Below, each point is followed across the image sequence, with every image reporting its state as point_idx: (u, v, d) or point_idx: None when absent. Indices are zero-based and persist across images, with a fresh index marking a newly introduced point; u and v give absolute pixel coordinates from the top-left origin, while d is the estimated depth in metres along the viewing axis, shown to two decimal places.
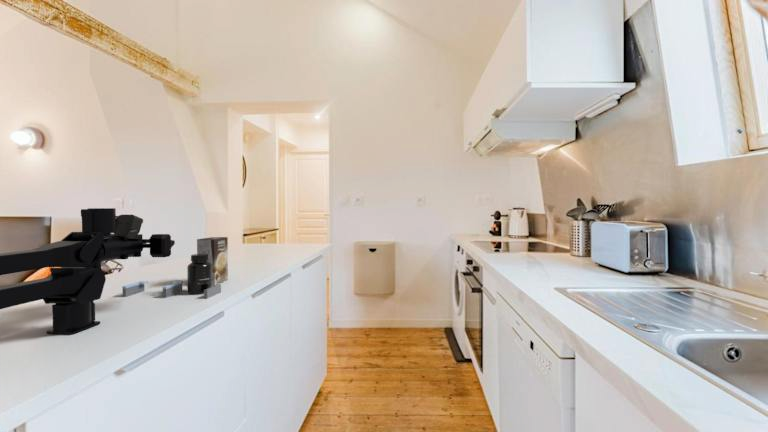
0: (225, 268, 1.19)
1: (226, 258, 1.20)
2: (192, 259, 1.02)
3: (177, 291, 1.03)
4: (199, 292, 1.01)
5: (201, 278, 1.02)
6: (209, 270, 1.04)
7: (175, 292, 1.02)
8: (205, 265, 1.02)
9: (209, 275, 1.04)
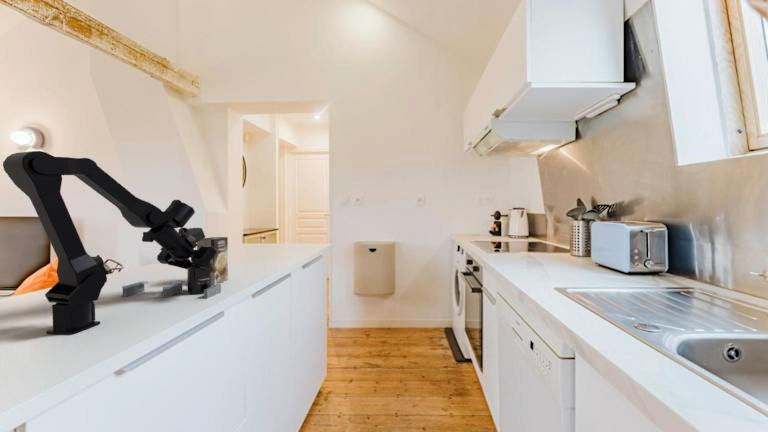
0: (225, 268, 1.19)
1: (226, 258, 1.20)
2: None
3: (177, 291, 1.03)
4: (199, 292, 1.01)
5: (201, 278, 1.02)
6: None
7: (175, 292, 1.02)
8: None
9: (209, 275, 1.04)
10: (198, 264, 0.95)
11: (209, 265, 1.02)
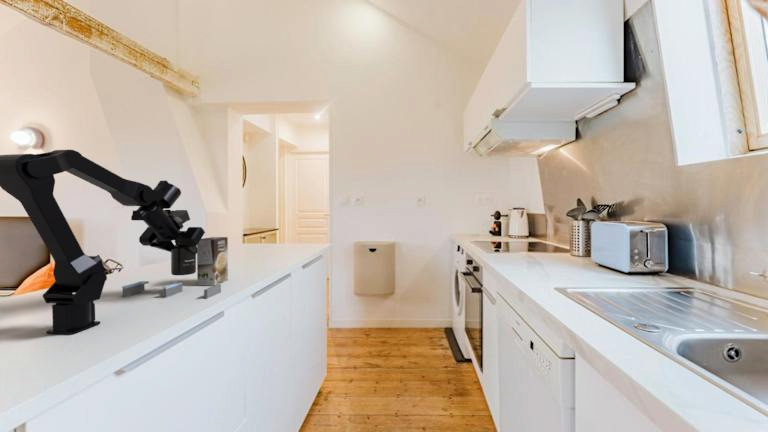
0: (225, 268, 1.19)
1: (226, 258, 1.20)
2: (177, 241, 1.03)
3: (177, 291, 1.03)
4: (184, 273, 1.02)
5: (187, 259, 1.03)
6: None
7: (175, 292, 1.02)
8: None
9: (194, 257, 1.05)
10: (187, 244, 0.97)
11: (195, 246, 1.04)
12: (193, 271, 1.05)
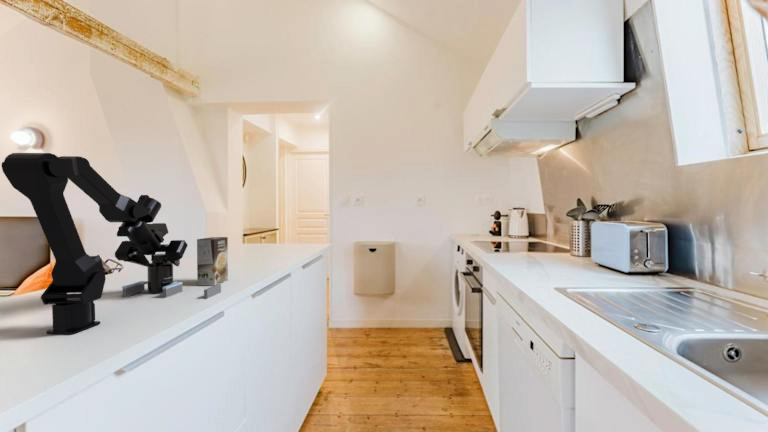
0: (225, 268, 1.19)
1: (226, 258, 1.20)
2: (154, 259, 1.03)
3: (177, 291, 1.03)
4: None
5: (166, 277, 1.03)
6: (172, 269, 1.06)
7: (175, 292, 1.02)
8: (169, 264, 1.04)
9: (172, 274, 1.06)
10: (172, 257, 0.99)
11: (178, 259, 1.05)
12: None
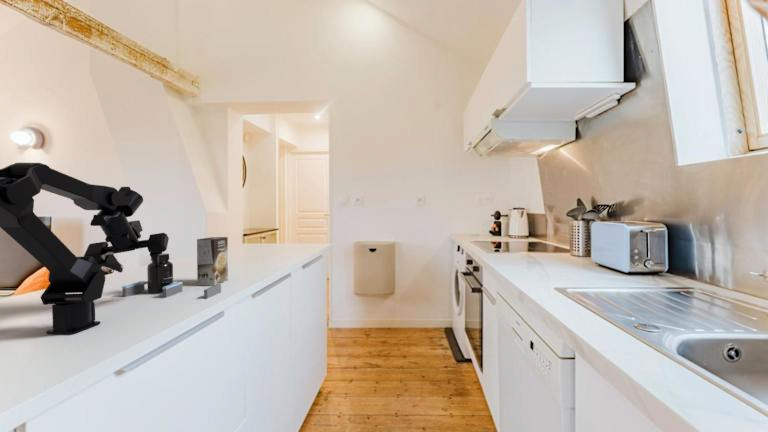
0: (225, 268, 1.19)
1: (226, 258, 1.20)
2: None
3: (177, 291, 1.03)
4: None
5: (166, 277, 1.03)
6: (172, 269, 1.06)
7: (175, 292, 1.02)
8: (169, 264, 1.04)
9: (172, 274, 1.06)
10: (155, 250, 0.92)
11: (158, 256, 0.97)
12: None
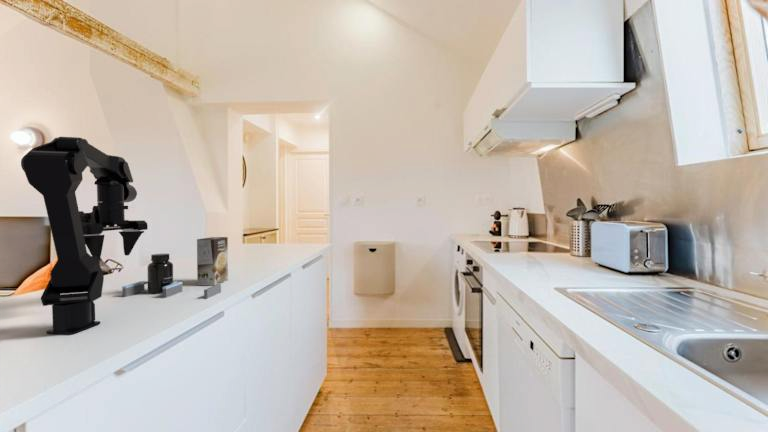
0: (225, 268, 1.19)
1: (226, 258, 1.20)
2: (154, 259, 1.03)
3: (177, 291, 1.03)
4: None
5: (166, 277, 1.03)
6: (172, 269, 1.06)
7: (175, 292, 1.02)
8: (169, 264, 1.04)
9: (172, 274, 1.06)
10: (142, 226, 0.98)
11: None
12: None
